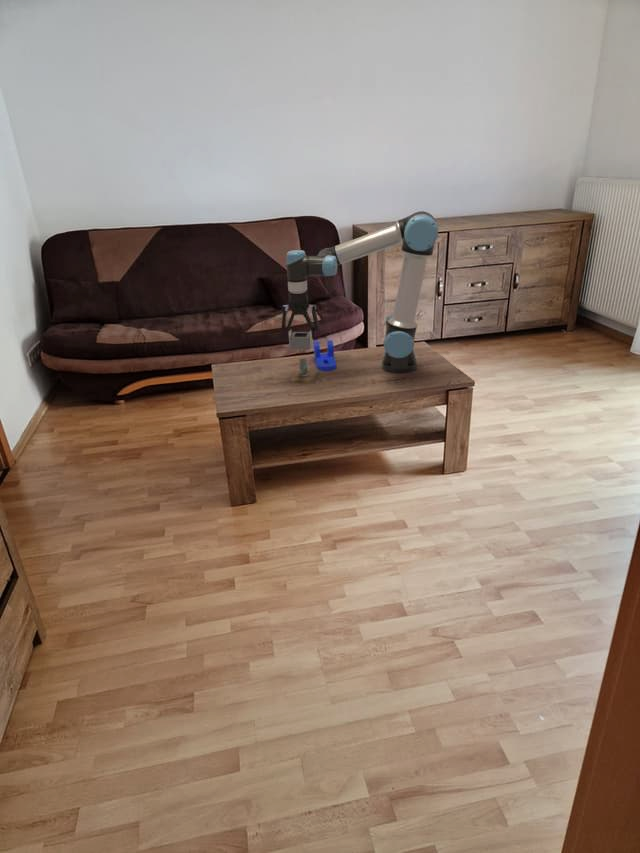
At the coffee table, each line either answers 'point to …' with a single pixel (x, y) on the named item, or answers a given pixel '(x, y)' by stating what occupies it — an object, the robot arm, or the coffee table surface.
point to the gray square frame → (300, 341)
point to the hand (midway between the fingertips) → (301, 346)
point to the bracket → (325, 357)
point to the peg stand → (303, 374)
